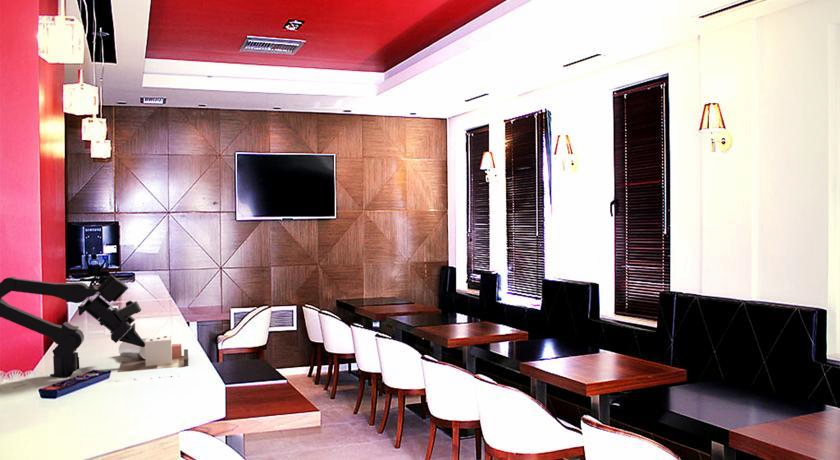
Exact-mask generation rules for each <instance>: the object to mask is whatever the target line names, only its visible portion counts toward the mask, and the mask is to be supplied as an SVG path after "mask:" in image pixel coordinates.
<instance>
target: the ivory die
mask: <svg viewBox="0 0 840 460" xmlns="http://www.w3.org/2000/svg"><path fill="white" fill-rule="evenodd" d="M145 338H146V340H145V358H146V366H154V365H166V364H172V344H173V343H172V335H169V336H168V335H167V336H166V335H165V336H155V337H145Z"/></svg>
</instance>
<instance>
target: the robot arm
mask: <svg viewBox="0 0 840 460" xmlns="http://www.w3.org/2000/svg"><path fill="white" fill-rule="evenodd" d="M128 290H129V286H127V285H126V284H125V282H123V280H121V279H118V278H117V277H115V276H113V274H109V275H108V276H107V277H106V279H105V280H104V281H103V282H102V283H101V284H100V285H99V286H95V285H94V286H89V285H88V284H87V283H84V282H64V283H63V282H59V283H58V282H57V283H56V282H48V281H41V280H34V279H33V280H31V279H24V278H18V277H16V276H15V277H14V276H8V277H6V278H3V280H2V281H0V318H2V319H4V320H6V321H10V322H11V323H14V324H16V325H18V326H21V327H23V328H26V329H29V330H30V331H33V332H35V333H38V334H40V335H43V336H45V337H47V338H49V339H50V340H51V341H52V342H54V344H56V346H55V347H54V349H53V350H52V353H53V357H52V360H53V373H51V374H49V376H50V377H59V378H67V377H72V375H73V374H74V372H76V371H77V370H80V357H79V352H78V351H77V350H78V348H80V346H81V344H83V342H84V340H85V334H84V332H83V330H81V329H80V328H79V327H80V326H76V325H73V324H71V323H70V322H68V321H65V322H64V323H62V324H61V325H60V324H55V323H53V322H50V321H48V320H46V319H43V318H42V317H40V316H37V315H34V314H32V313H29V312H27V311H25V310H22V309H20V308H18V307H16V306H13V305H12V304H9V303H8V302H6V301H5V299H3V297H5V296H7V295H8V294H10V293H11V292H16V293H24V294H25V293H26V294H31V295H42V296H49V297H55V298H58V299H60V300H64V301H66V302H70V303H74V304H81V303H83V302H84V301H85V300H86V302H85V303H84V304H82V305H78V306H77V309H78V316H81V315H83V314H84V313H85V312H86V313H87V314H89V316H91V317H92V318H94V319H95V320H96V321H97V322H98V323H99V324H98V325H100V326H101V327H102V326H104V327H105V328H106V329H107V330H108V331H109V332H110V339H111V341H113V342H114V344H117V343H118V342H121V343H122V342H126V343H129V344H133V345H137V346H140V347H144V346H145V342H144V341H143V340H142V339H141V338H142V337H141V336H140V335H139V334H138V332H137V331H136V323H135V320H136V319H135V318H134V317H132V316H133V315H135V314H138V313H140V312H141V311H142V308H141V307H140V304H139V303H138V301H137V300H136V301H132V300H128V301H127V302H125V306H124V307H122V308H120V309H118V307H113V306H111V305H110V304H109V303H111V302H114V303H115V302H117V301H118V300H119V299H120V298H121V297H122V295H124V294H125V292H127V291H128ZM97 293H99V294H98V295H97V296H95V295H96V294H97ZM94 296H95V298H93V299H91V298H90V297H94ZM88 298H89V299H88ZM132 323H133V324H132ZM76 351H77V352H76Z"/></svg>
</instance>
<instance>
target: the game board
mask: <svg viewBox="0 0 840 460" xmlns="http://www.w3.org/2000/svg"><path fill="white" fill-rule="evenodd" d="M181 367H189V349H185V348H184V349H183V355H182V358H177V359H172V364H166V365H154V366H146V360H141V359H130V360H129V359H127V360H121V363H120V365H119V368H118V369H117V373H124V372H134V371H135V372H136V371H145V370H147V371H148V370H158V369H159V370H160V369H168V368H169V369H170V368H181Z"/></svg>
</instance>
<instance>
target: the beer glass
mask: <svg viewBox="0 0 840 460" xmlns="http://www.w3.org/2000/svg"><path fill="white" fill-rule="evenodd" d="M146 338H147V337H145V338H143V337H141V339H142V340H143V341H144V342H145V340H146ZM118 353H119V356H121V357H129V358H132V359H133V360H138V359H141V360H146V358H145V346H144V347H140V346H137V345H133V344H129V343H126V342H122V341H121V343H120V344H119V346H118Z"/></svg>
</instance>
